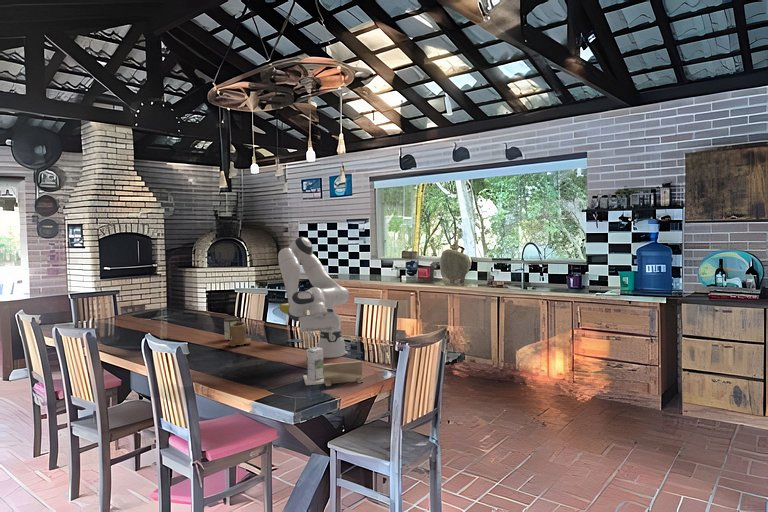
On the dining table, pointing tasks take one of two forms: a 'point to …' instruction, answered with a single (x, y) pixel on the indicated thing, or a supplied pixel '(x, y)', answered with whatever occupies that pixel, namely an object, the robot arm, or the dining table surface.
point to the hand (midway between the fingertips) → (321, 336)
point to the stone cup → (238, 334)
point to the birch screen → (342, 372)
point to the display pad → (313, 381)
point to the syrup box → (315, 363)
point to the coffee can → (227, 325)
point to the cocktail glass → (284, 308)
